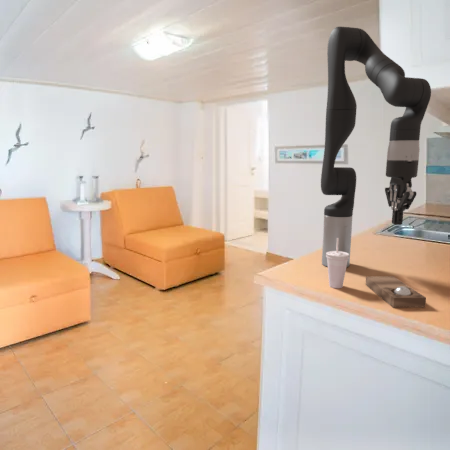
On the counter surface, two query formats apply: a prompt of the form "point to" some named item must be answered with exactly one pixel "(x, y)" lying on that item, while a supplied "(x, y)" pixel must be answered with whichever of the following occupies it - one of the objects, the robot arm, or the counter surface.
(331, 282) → the smoothie
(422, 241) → the counter surface
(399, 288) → the ball
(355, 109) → the robot arm
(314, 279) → the counter surface
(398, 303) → the brown ball holder
